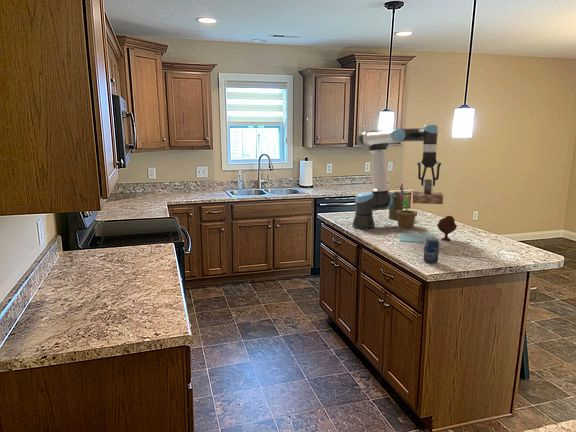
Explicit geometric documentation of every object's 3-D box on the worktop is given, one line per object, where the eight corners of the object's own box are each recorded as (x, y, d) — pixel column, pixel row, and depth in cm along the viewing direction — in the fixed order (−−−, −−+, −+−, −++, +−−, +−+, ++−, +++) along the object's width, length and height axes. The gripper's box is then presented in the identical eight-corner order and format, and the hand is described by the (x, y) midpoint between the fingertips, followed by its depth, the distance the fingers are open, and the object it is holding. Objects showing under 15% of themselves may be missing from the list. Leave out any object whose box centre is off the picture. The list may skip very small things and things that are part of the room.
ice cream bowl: (452, 237, 265) (454, 213, 262) (457, 242, 254) (459, 217, 251) (434, 237, 266) (436, 213, 263) (439, 242, 255) (440, 217, 252)
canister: (391, 216, 329) (392, 190, 325) (404, 218, 323) (406, 191, 319) (385, 218, 320) (387, 192, 316) (399, 220, 314) (400, 193, 310)
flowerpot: (397, 223, 304) (399, 181, 298) (418, 225, 298) (420, 182, 293) (392, 227, 292) (394, 183, 286) (414, 229, 286) (417, 184, 280)
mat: (399, 241, 257) (399, 240, 257) (399, 233, 276) (399, 232, 276) (435, 243, 252) (435, 242, 252) (432, 235, 271) (432, 234, 271)
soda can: (424, 263, 215) (425, 240, 212) (422, 259, 221) (424, 237, 219) (438, 264, 213) (440, 241, 211) (436, 260, 220) (438, 237, 218)
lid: (412, 203, 252) (413, 180, 250) (412, 199, 268) (413, 177, 265) (442, 204, 248) (444, 181, 245) (440, 199, 264) (442, 178, 261)
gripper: (414, 151, 251) (412, 191, 256) (445, 151, 247) (443, 192, 251) (414, 151, 258) (412, 190, 263) (444, 151, 254) (442, 190, 258)
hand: (427, 191), depth 257 cm, fingers closed on lid, 4 cm apart
